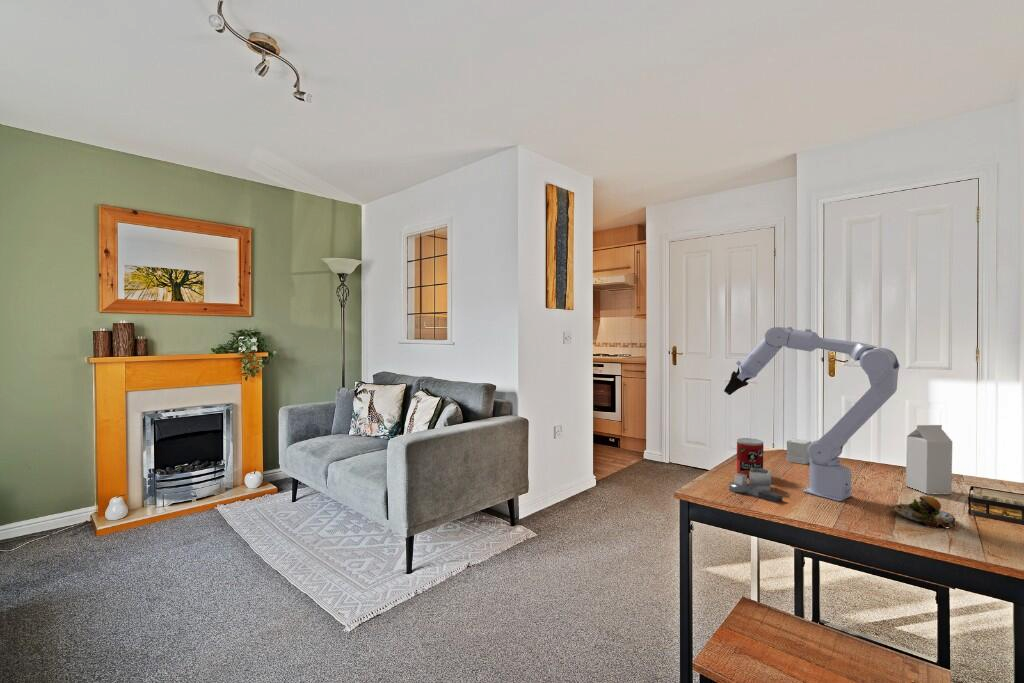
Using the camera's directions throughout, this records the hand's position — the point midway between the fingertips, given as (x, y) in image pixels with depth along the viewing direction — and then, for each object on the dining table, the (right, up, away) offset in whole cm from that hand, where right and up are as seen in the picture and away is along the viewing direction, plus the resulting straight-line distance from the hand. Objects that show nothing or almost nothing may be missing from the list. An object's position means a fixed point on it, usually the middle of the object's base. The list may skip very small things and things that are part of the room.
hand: (729, 389), depth 155 cm
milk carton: (+49, -28, -18) cm, 59 cm away
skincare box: (+30, -27, +13) cm, 43 cm away
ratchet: (-2, -28, -20) cm, 34 cm away
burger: (+30, -28, -38) cm, 56 cm away
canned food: (+6, -27, -2) cm, 28 cm away
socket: (+2, -27, -15) cm, 31 cm away
